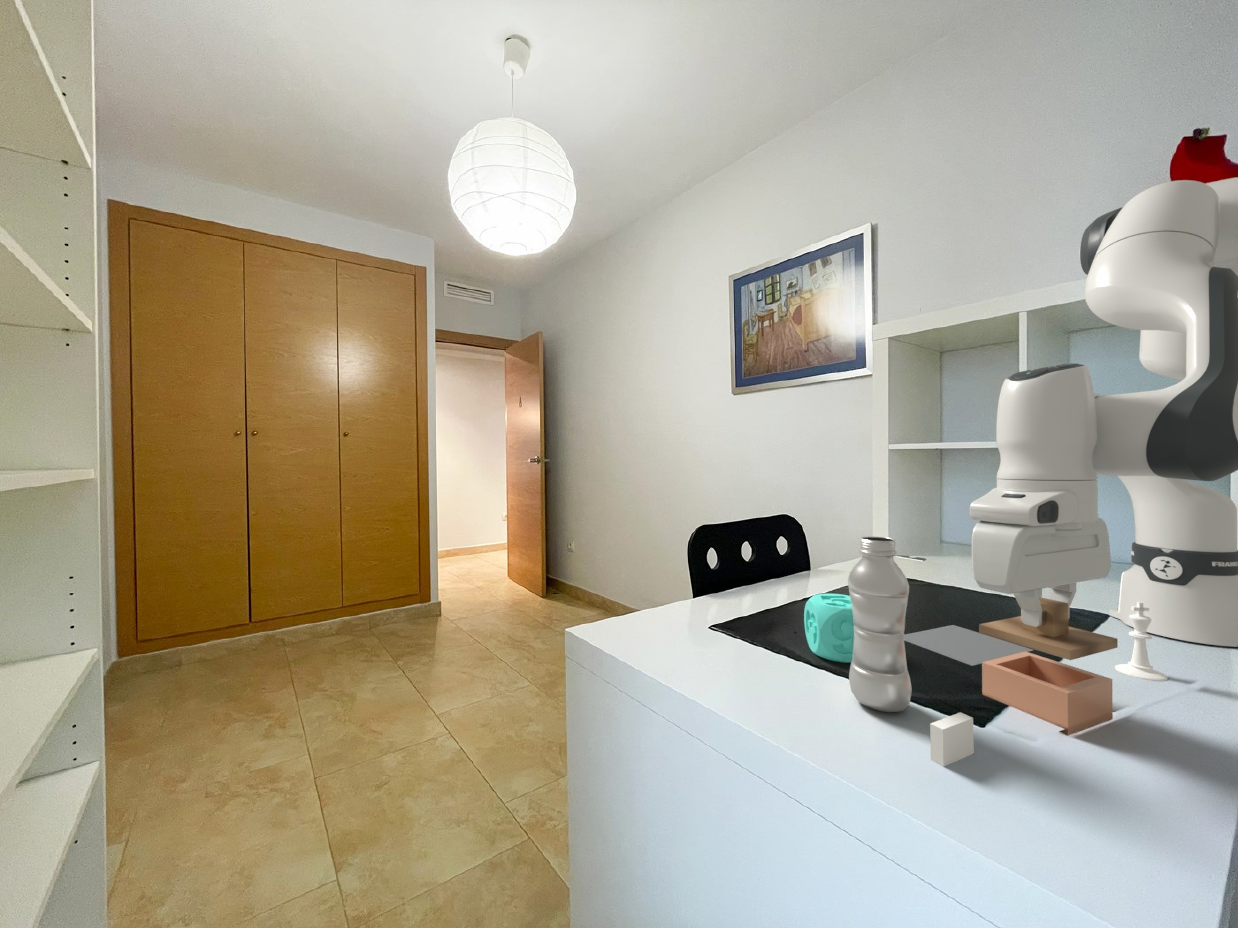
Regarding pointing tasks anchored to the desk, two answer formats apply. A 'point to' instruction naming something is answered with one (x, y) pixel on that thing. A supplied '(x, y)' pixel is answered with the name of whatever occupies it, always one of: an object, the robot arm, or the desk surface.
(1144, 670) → the chess piece
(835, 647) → the decorative dice
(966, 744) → the eraser
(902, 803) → the desk surface
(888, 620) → the plastic bottle
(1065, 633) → the lid
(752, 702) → the desk surface
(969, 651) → the mat
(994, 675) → the dish
